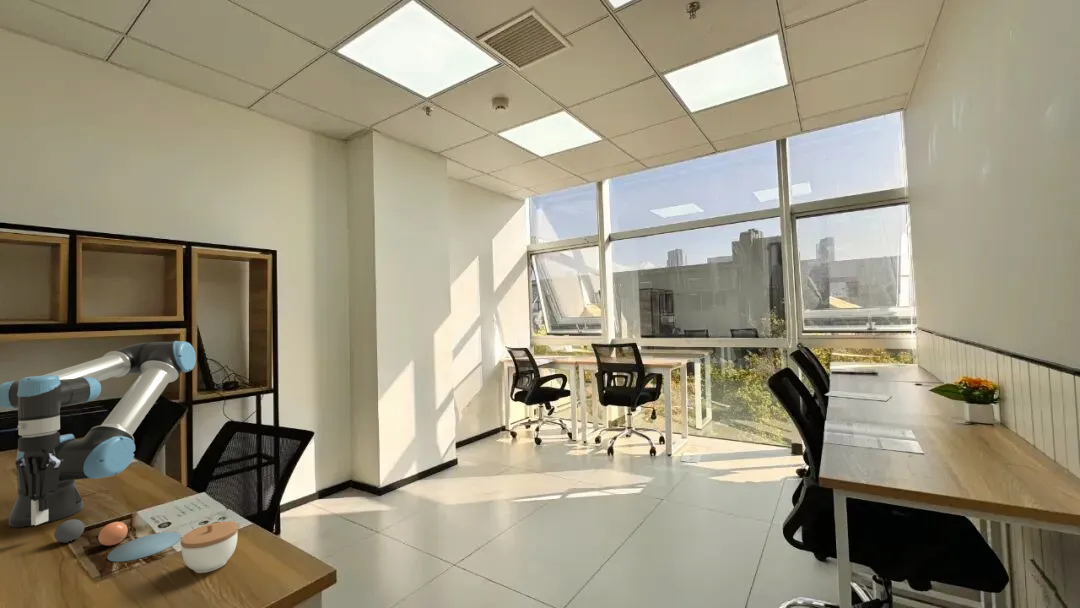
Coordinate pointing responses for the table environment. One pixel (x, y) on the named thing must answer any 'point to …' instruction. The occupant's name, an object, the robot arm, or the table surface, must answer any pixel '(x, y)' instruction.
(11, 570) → the table surface
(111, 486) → the table surface
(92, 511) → the table surface
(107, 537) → the terracotta ball
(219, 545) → the lidded jar
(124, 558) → the slate mark
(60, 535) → the charcoal ball
